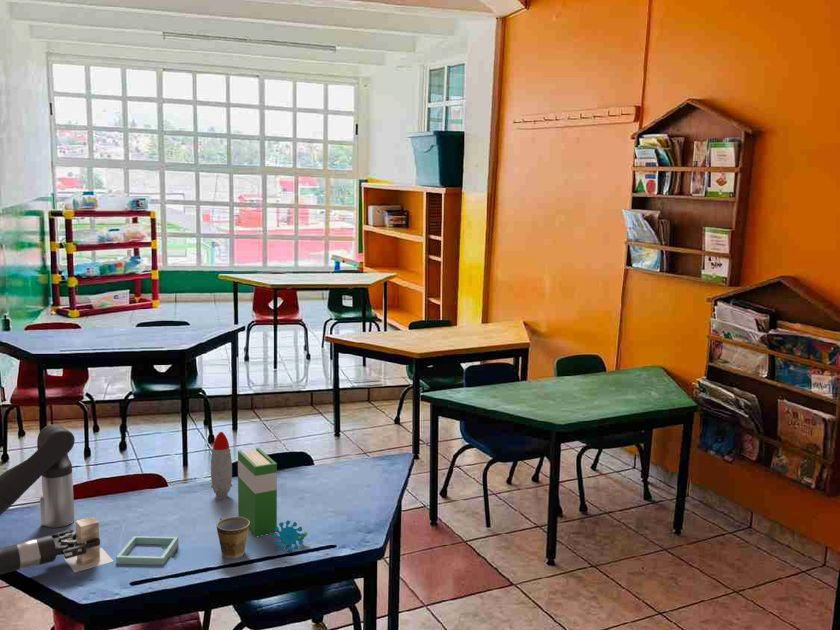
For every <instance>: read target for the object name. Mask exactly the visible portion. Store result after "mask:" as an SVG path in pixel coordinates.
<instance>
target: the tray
mask: <svg viewBox="0 0 840 630" xmlns="http://www.w3.org/2000/svg"><path fill="white" fill-rule="evenodd" d="M136 544H138V545H139V544H140V545H158V546H159V547H160V548H161V549H162V550H163V553H162V555H161V556H153V555H151V556H149V555H128V554H129V553H130V552H131V550H132V549H133V548H134V547H135V545H136ZM178 549H179V536H153V535H152V536H149V535H147V536H146V535H143V536H142V535H133V536H132V538H131V539H129V541H128V542H127V543H126V545H125V546H124V547H123V548H122V549H121V551H120V552H119V553H118V554H116V555H117V556H115V564H116V565H117V564H118V565H153V566H155V565H157V566H158V565H163V566H164V565H165V563H166V562H167V560H168V559H169V558H172V557H174V555H175V554H176V552H177V550H178Z"/></svg>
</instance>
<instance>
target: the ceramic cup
mask: <svg viewBox="0 0 840 630" xmlns="http://www.w3.org/2000/svg"><path fill="white" fill-rule="evenodd" d="M249 525H250V521H249V520H248V519H246V518H243V517H238V516H229V517H225V518H224V517H221V518H219V521H218V522H217V523H216V531H217V537H218V540H219V546H220V550H221V555H222V556H223V557H225V558H226V559H238V558H241V557H243V555H244V553H245V551H246V546H247V540H248V539H247V538H248V535H249V532H250V530H249Z"/></svg>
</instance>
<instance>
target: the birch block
mask: <svg viewBox="0 0 840 630" xmlns="http://www.w3.org/2000/svg"><path fill="white" fill-rule="evenodd" d="M75 531H76V540H78V541H87V540H91V539H95V538H99V539H100V522H99V521H98V520H97V519H96V518H95V517H94V516H90V517H87V518H82V519H78V520H75ZM78 546H79V545H78ZM100 548H101V546H100V545H99V546H95V547H92V548H88V549H87V550H86V552H87V553H85V554H82V555H78V556H77V559H78V560H79V562H80V563H81V564H82V565H85V564H89V563H92V562H96V561H99V560H100ZM78 552H80V551H78Z"/></svg>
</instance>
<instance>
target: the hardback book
mask: <svg viewBox="0 0 840 630" xmlns="http://www.w3.org/2000/svg"><path fill="white" fill-rule="evenodd" d="M277 465H278V463H277V462H276V461H274V460H273V459H272V458H271V457H270V456H269V455H268V454H267V453H266V452H264V451H263V450H262V448H260V447H256V448H255V450H251V451H244V452H243V451H242V450H238V451H237V489H238V492H237V498H238V499H237V501H238V502H237V503H238V504H237V506H238V507H237V508H238V512H237V513H238V516H237V517H243V518H246V519H248V520H249V521H250V525H249V532H250V531H251V532H252V533H251V532H250V533H251V534H252V535H253V537H254V538H258V537H257V536H259V537H262V536H261V535H263V536H267V535H266V534H268V535H271V534H270V533H273V534H276V533H275V531H274V529H275V528H276V527H278V522H277V521H278V520H277V519H278V515H277V514H278V511H277V510H278V504H277V503H278V502H277V501H278V500H277V499H278V488H277V487H278V483H277V482H278V479H277V478H278V473H277V472H278V469H277V468H278V466H277Z"/></svg>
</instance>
